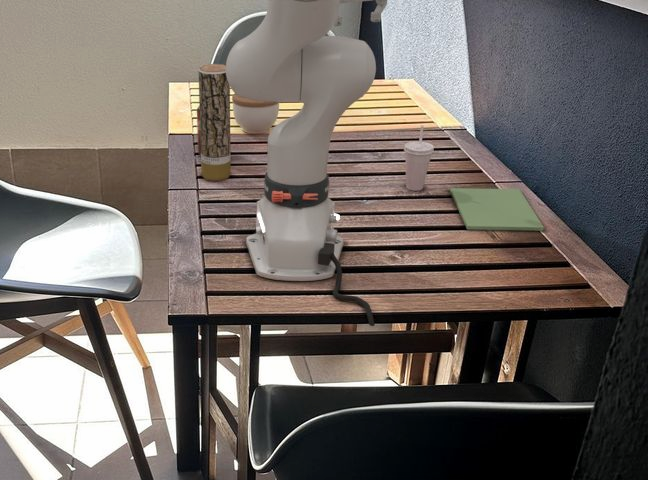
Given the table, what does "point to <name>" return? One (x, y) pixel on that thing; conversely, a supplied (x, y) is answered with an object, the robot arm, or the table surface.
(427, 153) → the smoothie
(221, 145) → the paper tube
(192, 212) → the table surface
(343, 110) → the robot arm
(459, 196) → the pad
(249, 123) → the lidded bowl
